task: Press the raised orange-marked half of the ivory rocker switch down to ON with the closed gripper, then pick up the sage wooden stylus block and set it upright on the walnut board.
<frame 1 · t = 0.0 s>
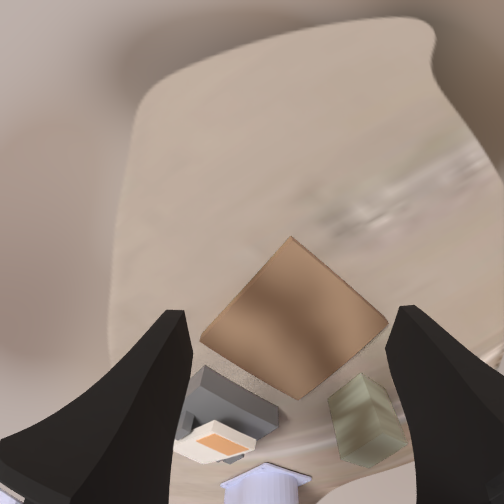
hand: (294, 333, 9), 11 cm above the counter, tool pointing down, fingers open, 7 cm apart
stylus block: (357, 394, 24), on the counter
rocker: (207, 445, 21), point 4 cm above the counter, hinge at -12.0°
switch base: (213, 411, 25), on the counter
walnut board: (295, 327, 22), on the counter
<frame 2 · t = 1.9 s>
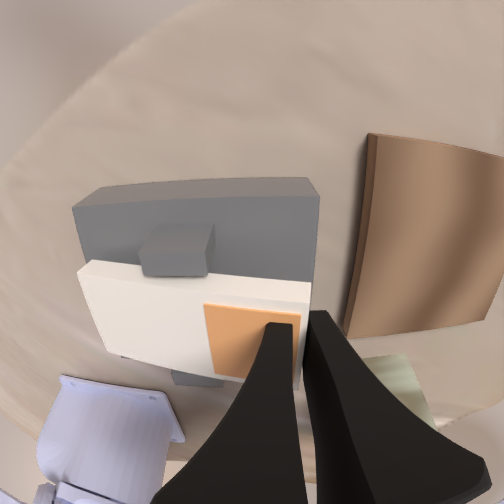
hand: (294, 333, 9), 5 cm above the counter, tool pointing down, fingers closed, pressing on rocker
stylus block: (370, 376, 18), on the counter
rocker: (187, 327, 10), point 4 cm above the counter, hinge at -11.1°, touching gripper
switch base: (204, 265, 14), on the counter
walnut board: (443, 243, 13), on the counter
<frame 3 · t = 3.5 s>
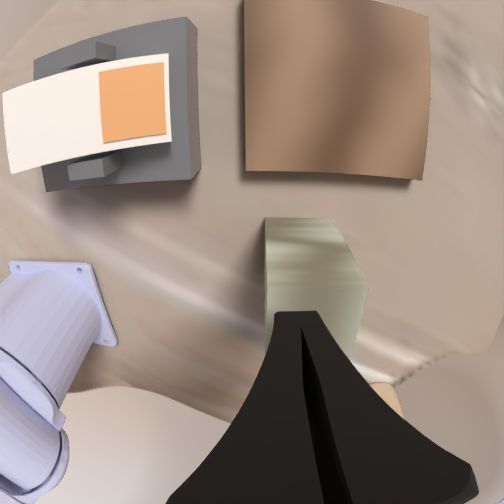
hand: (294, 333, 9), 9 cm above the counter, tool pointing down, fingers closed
candle: (368, 395, 26), on the counter
stylus block: (297, 248, 18), on the counter
rocker: (81, 111, 10), point 4 cm above the counter, hinge at 17.8°
switch base: (120, 106, 14), on the counter
walnut board: (340, 81, 13), on the counter
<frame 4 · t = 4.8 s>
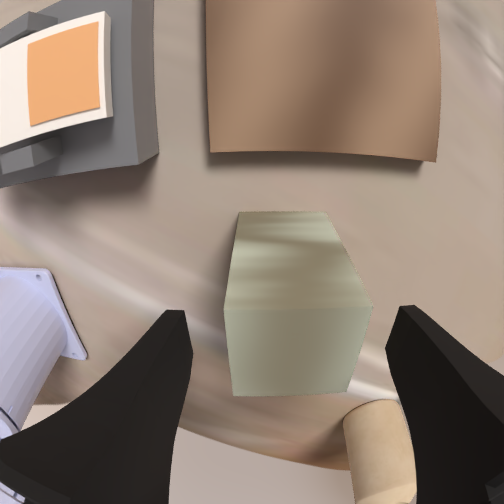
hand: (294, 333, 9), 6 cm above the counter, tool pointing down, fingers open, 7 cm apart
candle: (370, 413, 23), on the counter
stylus block: (281, 249, 15), on the counter
rocker: (13, 92, 7), point 4 cm above the counter, hinge at 13.9°
switch base: (70, 87, 11), on the counter
walnut board: (329, 40, 10), on the counter
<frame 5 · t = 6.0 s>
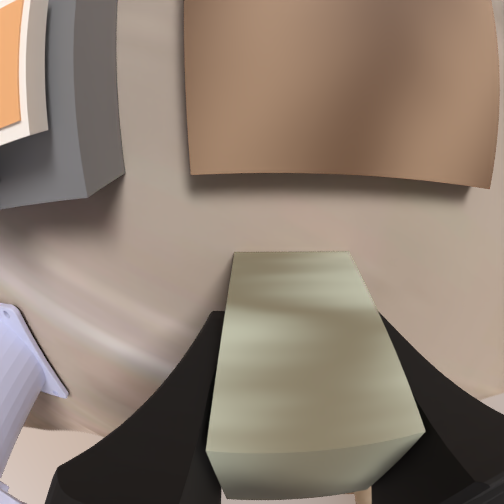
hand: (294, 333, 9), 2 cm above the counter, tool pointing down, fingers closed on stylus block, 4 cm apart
stylus block: (290, 298, 11), on the counter, touching gripper
switch base: (20, 90, 7), on the counter
walnut board: (359, 17, 6), on the counter
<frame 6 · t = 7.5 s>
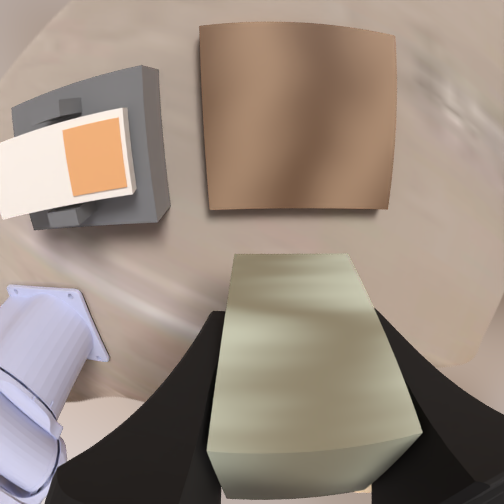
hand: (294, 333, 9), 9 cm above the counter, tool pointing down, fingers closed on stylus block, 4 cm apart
stylus block: (289, 299, 11), point 7 cm above the counter, touching gripper
rocker: (54, 165, 11), point 4 cm above the counter, hinge at 11.8°
switch base: (94, 148, 15), on the counter
walnut board: (301, 114, 14), on the counter
when the fingers open (4 cm above the counter, at t = 9.4 s): stylus block drops 1 cm, resting on walnut board.
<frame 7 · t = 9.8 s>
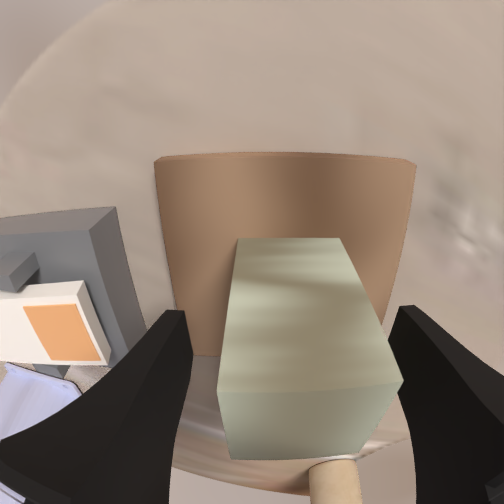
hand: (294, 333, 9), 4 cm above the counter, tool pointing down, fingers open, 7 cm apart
candle: (332, 465, 26), on the counter
stylus block: (287, 280, 13), point 1 cm above the counter, touching walnut board
rocker: (25, 327, 10), point 4 cm above the counter, hinge at 11.5°
switch base: (64, 279, 14), on the counter
walnut board: (285, 264, 13), on the counter
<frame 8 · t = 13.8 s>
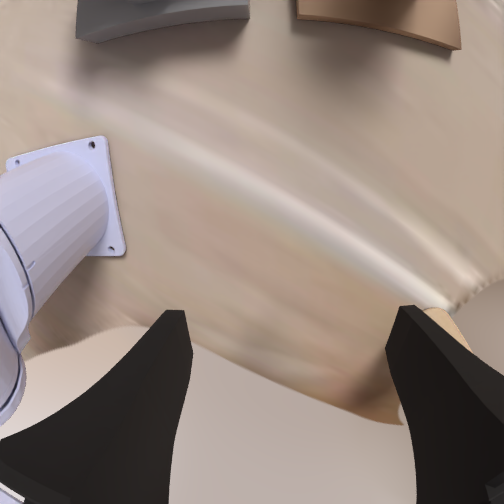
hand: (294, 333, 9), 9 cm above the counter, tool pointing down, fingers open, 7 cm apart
candle: (422, 329, 22), on the counter
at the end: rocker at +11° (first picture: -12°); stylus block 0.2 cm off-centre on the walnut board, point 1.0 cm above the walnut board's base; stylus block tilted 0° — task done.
